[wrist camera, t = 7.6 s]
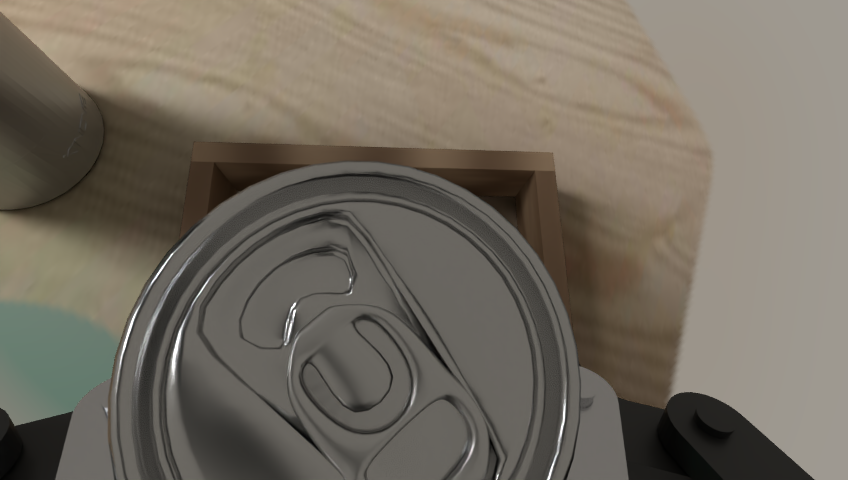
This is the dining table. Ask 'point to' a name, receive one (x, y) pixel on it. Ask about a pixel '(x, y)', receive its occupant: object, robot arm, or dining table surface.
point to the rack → (471, 169)
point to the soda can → (347, 340)
